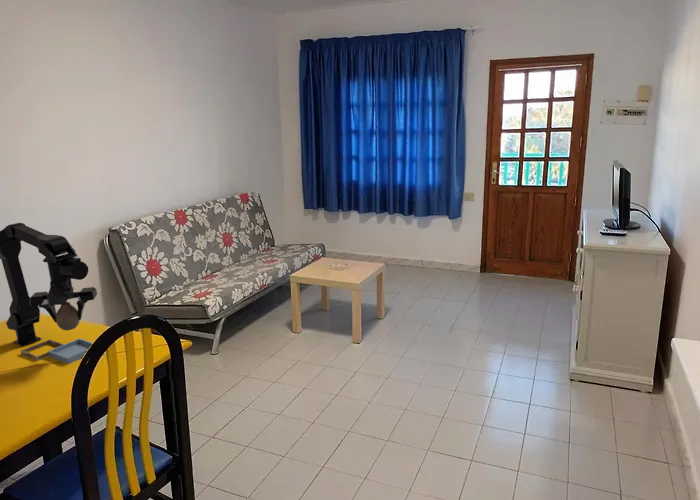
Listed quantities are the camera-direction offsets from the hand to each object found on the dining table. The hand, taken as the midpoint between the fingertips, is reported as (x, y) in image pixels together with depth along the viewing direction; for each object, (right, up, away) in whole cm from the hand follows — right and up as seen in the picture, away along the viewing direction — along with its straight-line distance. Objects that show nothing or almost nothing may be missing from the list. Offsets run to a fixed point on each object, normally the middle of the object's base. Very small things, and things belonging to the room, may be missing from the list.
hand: (68, 320), depth 171 cm
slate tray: (0, -11, +3) cm, 12 cm away
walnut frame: (-11, -11, +5) cm, 17 cm away
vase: (0, -3, +1) cm, 3 cm away
